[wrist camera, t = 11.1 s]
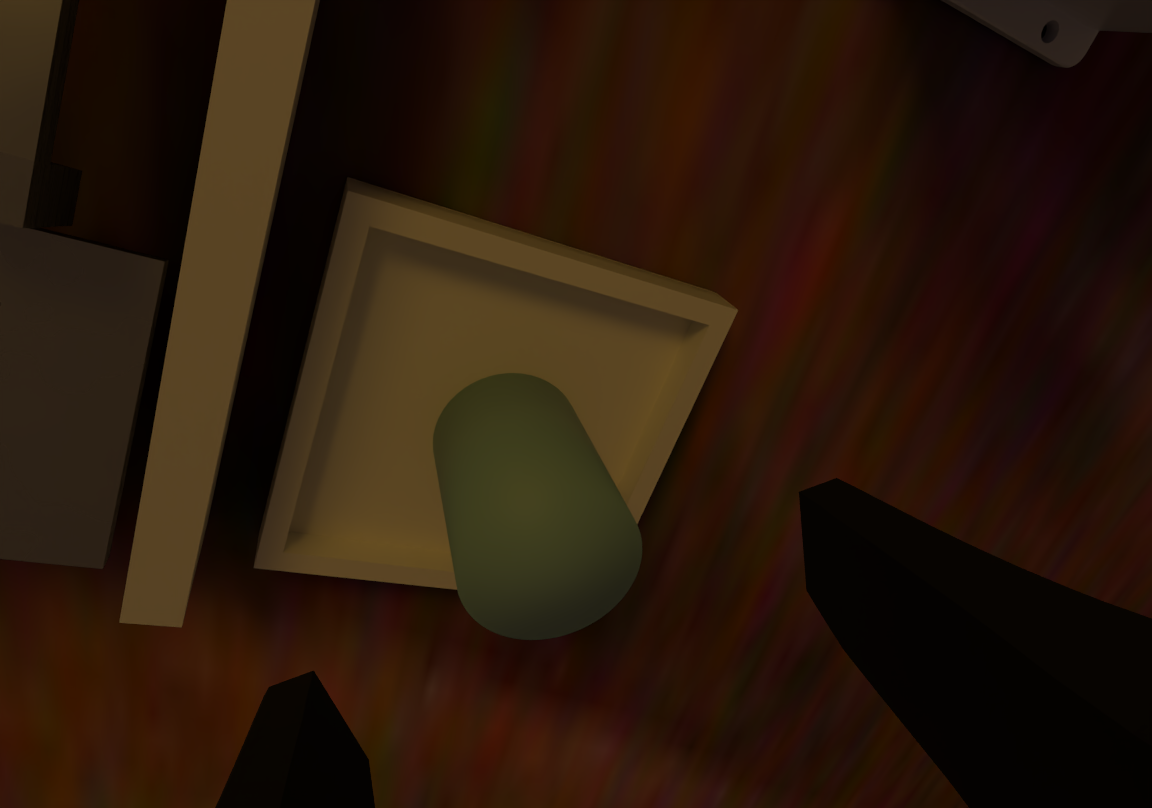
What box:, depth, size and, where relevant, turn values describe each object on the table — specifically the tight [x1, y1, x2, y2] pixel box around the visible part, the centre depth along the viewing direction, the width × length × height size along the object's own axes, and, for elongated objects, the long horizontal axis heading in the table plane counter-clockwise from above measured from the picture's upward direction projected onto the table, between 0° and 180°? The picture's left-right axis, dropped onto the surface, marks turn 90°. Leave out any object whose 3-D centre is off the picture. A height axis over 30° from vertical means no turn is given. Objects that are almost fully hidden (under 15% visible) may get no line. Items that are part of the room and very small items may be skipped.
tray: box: [254, 177, 738, 590], centre depth 20 cm, size 10×10×1 cm
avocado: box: [433, 373, 642, 640], centre depth 18 cm, size 4×4×6 cm
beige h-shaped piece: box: [119, 0, 320, 627], centre depth 13 cm, size 8×18×4 cm, turn 160°
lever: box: [0, 0, 169, 569], centre depth 12 cm, size 9×19×4 cm, turn 159°
